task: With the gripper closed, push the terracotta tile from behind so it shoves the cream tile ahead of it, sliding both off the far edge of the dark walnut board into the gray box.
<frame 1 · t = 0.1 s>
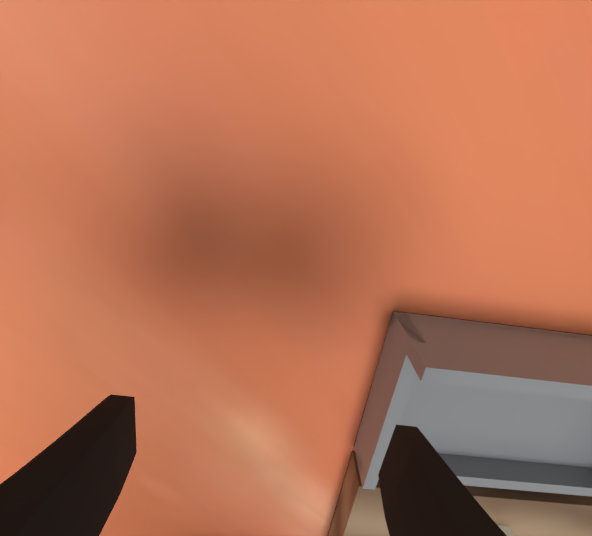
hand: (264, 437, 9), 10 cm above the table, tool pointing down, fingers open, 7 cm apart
gray box: (503, 399, 22), on the table
walnut board: (443, 522, 27), on the table
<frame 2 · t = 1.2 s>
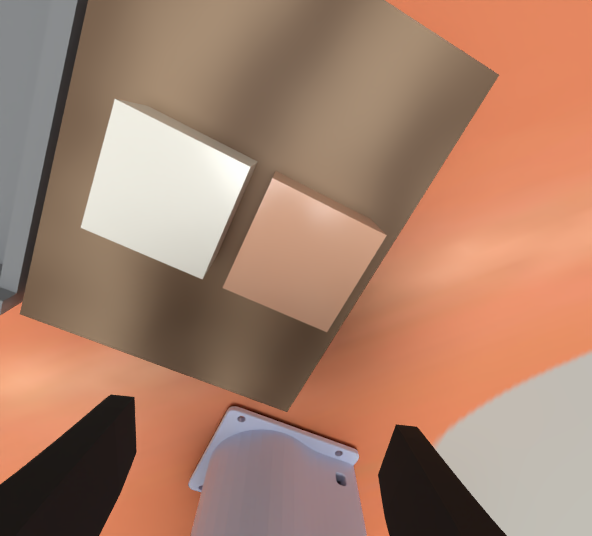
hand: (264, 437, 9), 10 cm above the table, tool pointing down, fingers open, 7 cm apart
cream tile: (184, 187, 14), point 2 cm above the table, touching walnut board
terracotta tile: (300, 242, 14), point 2 cm above the table, touching walnut board
walnut board: (238, 198, 16), on the table
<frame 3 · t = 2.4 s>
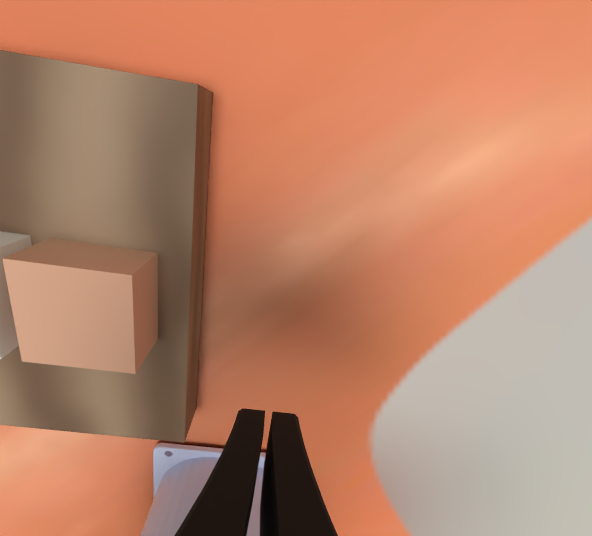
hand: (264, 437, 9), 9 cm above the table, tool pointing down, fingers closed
terracotta tile: (107, 291, 15), point 2 cm above the table, touching walnut board
walnut board: (66, 262, 17), on the table
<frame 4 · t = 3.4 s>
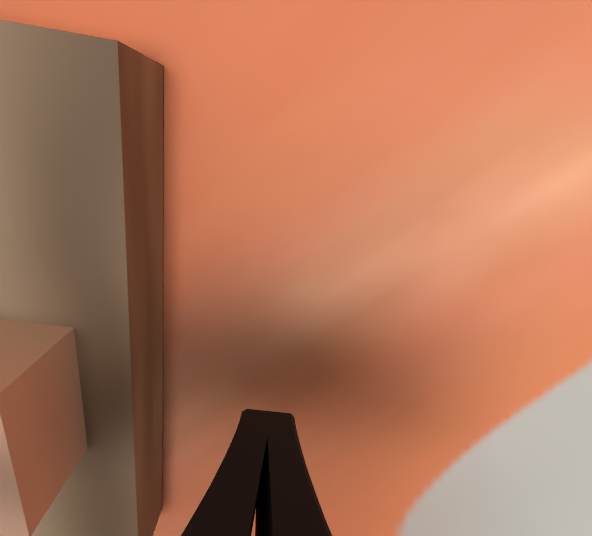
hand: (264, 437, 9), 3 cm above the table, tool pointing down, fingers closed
terracotta tile: (0, 384, 9), point 2 cm above the table, touching walnut board
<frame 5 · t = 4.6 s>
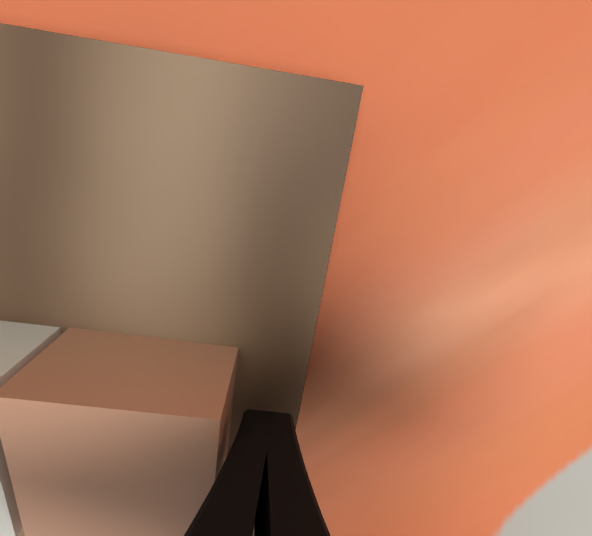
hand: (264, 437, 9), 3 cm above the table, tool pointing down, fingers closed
terracotta tile: (155, 401, 10), point 3 cm above the table, touching gripper, walnut board
walnut board: (105, 342, 12), on the table
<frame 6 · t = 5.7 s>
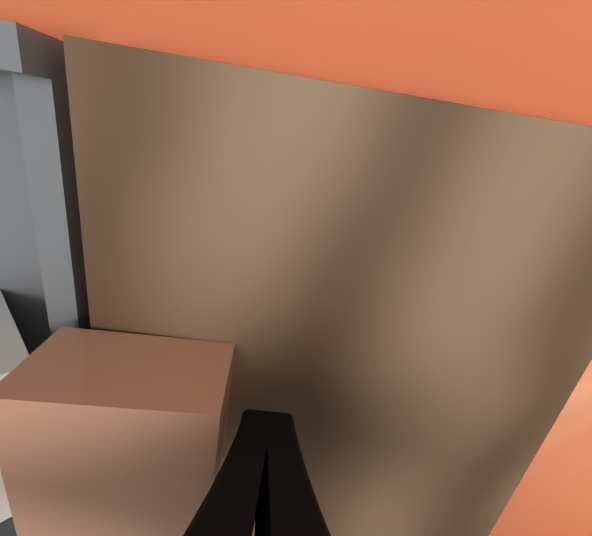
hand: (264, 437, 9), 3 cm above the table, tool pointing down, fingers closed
cream tile: (26, 385, 10), point 2 cm above the table, tilted 45°, touching gray box
terracotta tile: (150, 399, 10), point 3 cm above the table, touching gripper, walnut board
walnut board: (323, 366, 12), on the table
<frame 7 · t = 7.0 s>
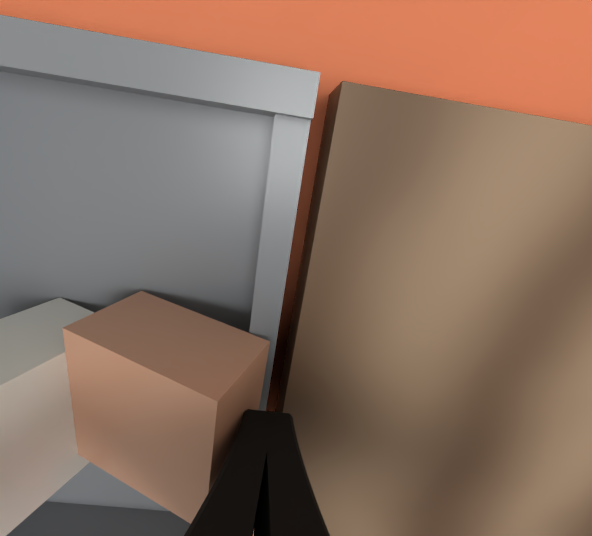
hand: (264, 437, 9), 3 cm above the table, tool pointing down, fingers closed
gray box: (119, 342, 12), on the table
cream tile: (49, 433, 9), point 4 cm above the table, tilted 113°, touching gray box, terracotta tile
terracotta tile: (197, 374, 11), point 2 cm above the table, tilted 23°, touching cream tile, gripper
walnut board: (461, 382, 13), on the table
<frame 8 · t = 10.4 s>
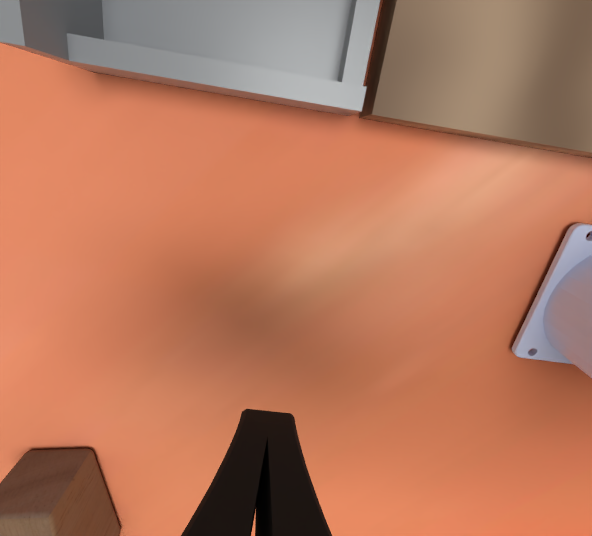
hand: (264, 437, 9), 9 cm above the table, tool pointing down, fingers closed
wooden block: (80, 488, 24), on the table
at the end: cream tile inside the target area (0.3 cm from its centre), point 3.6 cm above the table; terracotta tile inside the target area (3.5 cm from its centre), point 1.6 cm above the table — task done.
